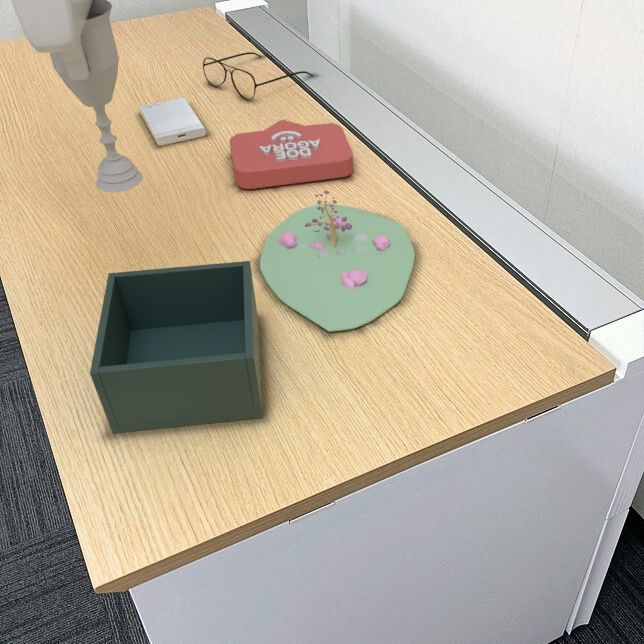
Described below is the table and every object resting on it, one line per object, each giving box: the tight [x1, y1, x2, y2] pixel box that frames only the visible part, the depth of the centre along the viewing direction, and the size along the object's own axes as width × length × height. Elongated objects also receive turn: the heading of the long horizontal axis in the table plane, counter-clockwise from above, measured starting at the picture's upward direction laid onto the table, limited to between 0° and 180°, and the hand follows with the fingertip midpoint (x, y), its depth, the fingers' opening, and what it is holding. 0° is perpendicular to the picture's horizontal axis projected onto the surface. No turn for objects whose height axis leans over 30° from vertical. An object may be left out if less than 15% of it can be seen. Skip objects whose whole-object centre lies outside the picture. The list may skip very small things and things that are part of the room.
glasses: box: [202, 51, 314, 101], centre depth 137 cm, size 14×15×5 cm
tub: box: [89, 260, 264, 434], centre depth 79 cm, size 16×16×9 cm
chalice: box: [49, 0, 144, 194], centre depth 75 cm, size 7×7×18 cm
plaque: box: [228, 119, 354, 190], centre depth 114 cm, size 18×4×15 cm
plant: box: [259, 190, 416, 333], centre depth 93 cm, size 25×21×9 cm
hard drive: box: [139, 97, 207, 147], centre depth 124 cm, size 2×8×12 cm
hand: (85, 62), depth 72 cm, fingers closed on chalice, 6 cm apart
